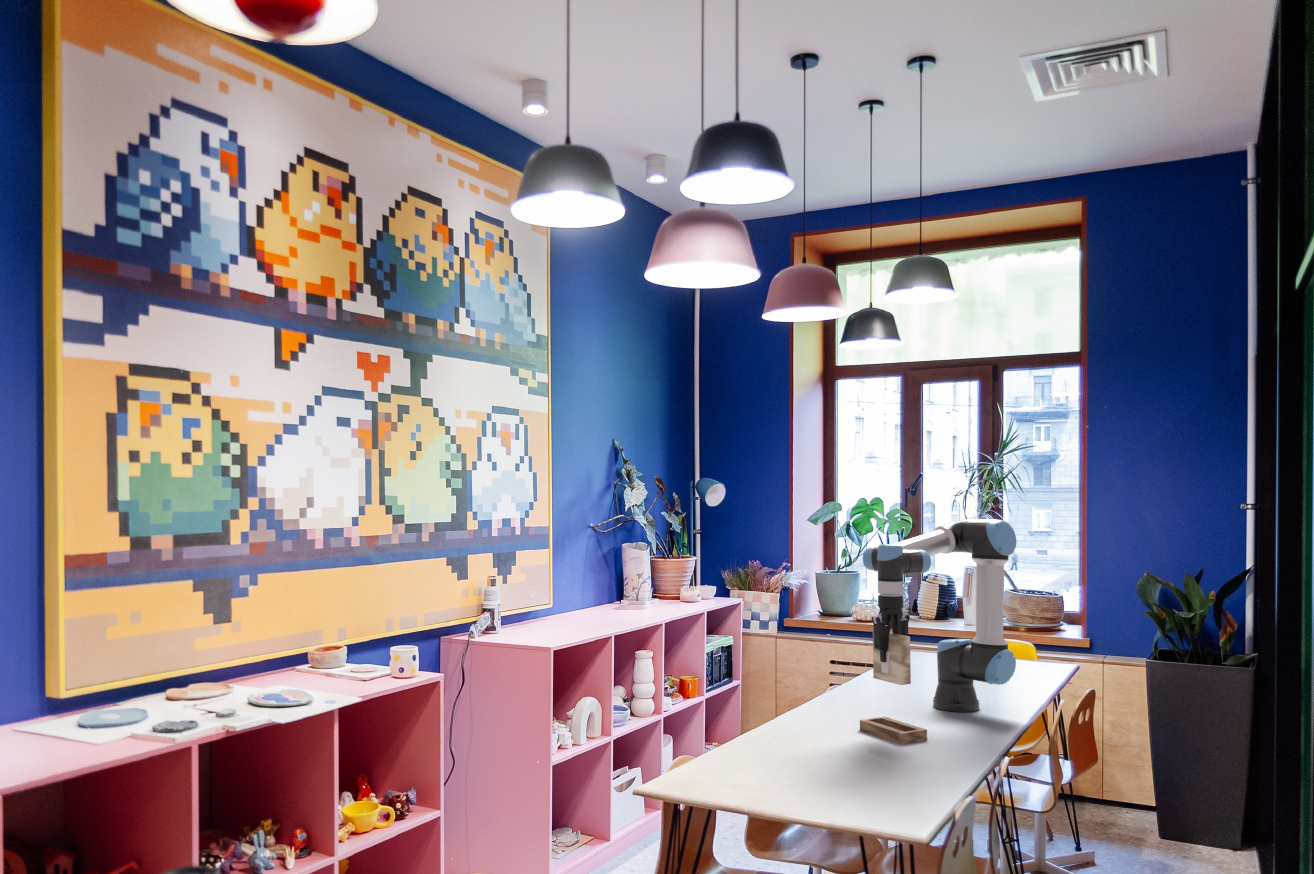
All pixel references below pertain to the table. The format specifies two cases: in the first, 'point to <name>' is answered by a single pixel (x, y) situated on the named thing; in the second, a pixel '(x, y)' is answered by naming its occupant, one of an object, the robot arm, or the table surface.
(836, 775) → the table surface
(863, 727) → the track
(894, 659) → the panel
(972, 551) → the robot arm
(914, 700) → the table surface
